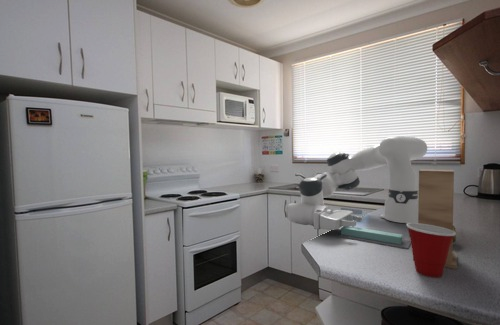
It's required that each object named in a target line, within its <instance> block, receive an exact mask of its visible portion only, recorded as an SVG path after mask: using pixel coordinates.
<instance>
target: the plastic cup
mask: <svg viewBox="0 0 500 325" xmlns="http://www.w3.org/2000/svg"><path fill="white" fill-rule="evenodd" d="M405 224H406V228H407V229H408V234H409V239H410V240H409V241H411V244H410V246H411V251H412V258H414V261H413V262H414V268H415V271H416V272H417V273H418V274H419V275H423V276H426V277H430V278H440V277H442V276H443V274H444V270H445V267H444V266H445V263H446V260H447V256H448V251H449V247H450V244H451V241H452V239H453V237H454V235H456V236H457V232H455V231H456V230H455V231H452V230H450V229H446V228H443V227H439V226H434V225H428V224H420V223H405Z"/></svg>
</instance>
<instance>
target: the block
mask: <svg viewBox="0 0 500 325" xmlns="http://www.w3.org/2000/svg"><path fill="white" fill-rule="evenodd" d="M340 232H341V233H340V235H342V234H343V235H349V236H355V237H360V238H366V239H372V240H378V241H383V242H389V243H395V244H401V243H402V239H403V236H404V235H403V234H402V233H401V234H400V233H393V232H387V231H382V230H375V229H369V228H361V227H356V226H354V227H352V226H342V227H340ZM403 240H404V239H403Z"/></svg>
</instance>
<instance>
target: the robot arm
mask: <svg viewBox="0 0 500 325" xmlns="http://www.w3.org/2000/svg"><path fill="white" fill-rule="evenodd" d="M427 152H428V146H427V143H426V142H425V141H424V140H423V139H421V138H418V137H415V136H400V135H398V136H397V135H396V136H395V135H394V136H389V137H386V138H384V139H382V141H380V143H379V144H376V145H373V146H370V147H367V148H365V149H362V150H360V151H358V152H356V153H355V154H353V155H351V156H350V154H349V153H345V152H343V151H338V152H333V153H331V155H330V156H329V157H327V159H326V163H327V166H328V167H329V169H330V171H325V172H317V173H314V174H312V175H311V176H309V177H306V178H303V179H301V181H300V182H299V184H298V188H299V189H298V190H299V193H300V194H299V195H300V199H301V200H300V201H301V202H299V203H297V202H296V203H295V202H294V203H293V202H292V203H289V204H287V207H286V217H287V220H288V221H290V222H291V223H293V224H297V225H303V226H308V225H309V226H312V227H313V229H314V230H321V229H322V230H329V231H330V230H331V231H335V230H339V229H341V228H342V227H343V226H350V227H356V226H357V222H358V223H361V222H362V221H363V217H362V216H358V215H355V214H354V212H353V211H352V210H348V209H347V210H345V209H331V208H330V207H329V206H328V205H325V202H324V198H326V199H327V198H330V197H331V196H332V195H334V194H335V191H336V189H338V190H343V191H352V190H354V189H355V188H357V187H358V186H359V185H360V183H361V180H360V178H359V176H358V175H357V174H358V173H357V172H362V171H365V172H366V171H369V170H374V169H377V168H381V167H385V166H387V168H388V174H389V189H388V192H387V193H388V194H387V196H388V198H387V199H386V200H385V201H384V209H383V211H384V213H383V214H380V218H382V219H384V220H387V221H391V222H395V223H401V224H407V223H418V203H419V190H418V189H417V188H418V186H417V185H418V184H417V183H418V174H417V172H416V171H415V170H414V168H413V166H412V161H415V160H418V159H422V158H423V157H424V156H425V155H426V154H427Z"/></svg>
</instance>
